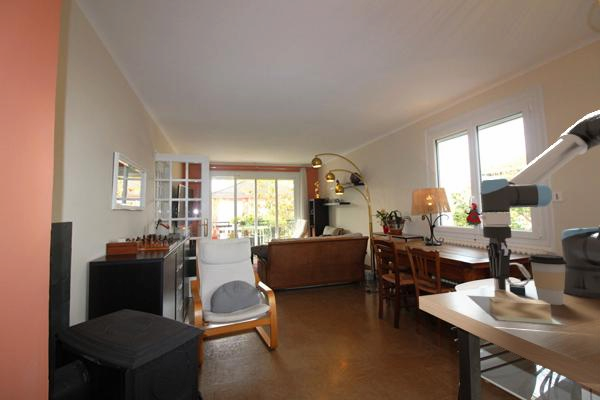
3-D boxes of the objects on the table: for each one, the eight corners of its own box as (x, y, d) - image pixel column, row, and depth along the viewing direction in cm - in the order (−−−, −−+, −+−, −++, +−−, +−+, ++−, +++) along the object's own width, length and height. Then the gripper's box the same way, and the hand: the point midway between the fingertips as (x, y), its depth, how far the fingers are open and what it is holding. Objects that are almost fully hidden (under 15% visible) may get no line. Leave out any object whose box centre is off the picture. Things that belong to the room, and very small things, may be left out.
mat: (520, 299, 92) (520, 298, 92) (568, 326, 69) (568, 325, 69) (467, 296, 97) (467, 295, 97) (495, 321, 74) (495, 320, 74)
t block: (526, 304, 86) (525, 291, 86) (551, 319, 73) (550, 304, 74) (479, 301, 89) (478, 289, 90) (495, 315, 77) (494, 301, 77)
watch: (533, 298, 93) (530, 265, 94) (503, 294, 98) (501, 263, 99) (531, 294, 98) (529, 263, 99) (504, 290, 103) (502, 261, 103)
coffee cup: (579, 307, 83) (575, 257, 84) (548, 307, 84) (544, 258, 84) (551, 298, 93) (548, 253, 94) (523, 298, 93) (520, 254, 94)
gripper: (476, 225, 97) (480, 292, 96) (491, 226, 85) (495, 304, 83) (501, 225, 95) (505, 294, 94) (519, 226, 83) (525, 306, 81)
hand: (500, 298), depth 88 cm, fingers closed
